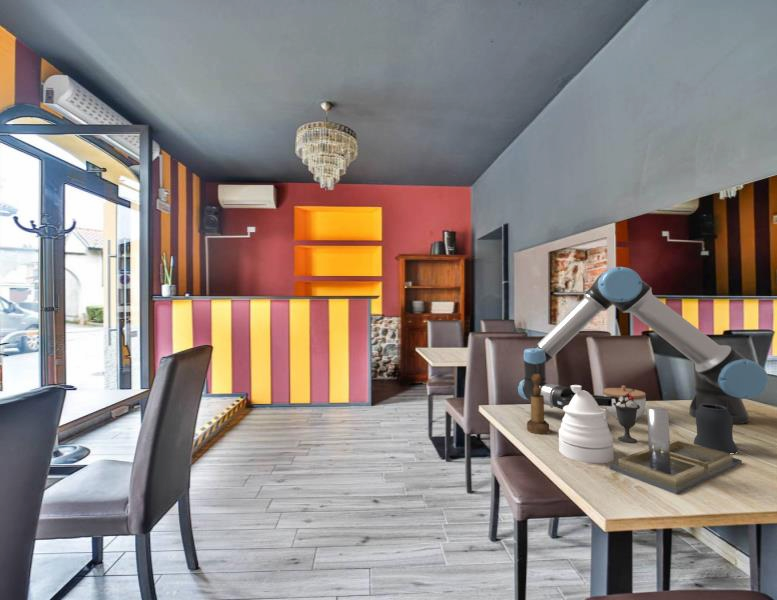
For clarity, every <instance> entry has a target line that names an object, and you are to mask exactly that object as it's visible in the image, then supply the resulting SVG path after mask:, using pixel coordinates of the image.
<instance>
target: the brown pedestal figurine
mask: <svg viewBox="0 0 777 600" xmlns="http://www.w3.org/2000/svg"><path fill="white" fill-rule="evenodd" d="M531 379H532V381H533V383H534V388H533V391H534V394H532V395H531V401H530V419H529V420H528V421H527V422H526V430H527V432H529V431H530V432H529V433H531V434H536V433H538V434H540V435H543V434H542V433H546V434H549V433H550V424H549V423H548V422H547V421H546V420H545V404H544V396H543V395H540V390H541V388H539V384H540V382H541V379H542V378H541V376H540V375H539V374H533V375H532V377H531ZM548 432H549V433H548ZM538 434H537V435H538Z"/></svg>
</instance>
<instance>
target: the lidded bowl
mask: <svg viewBox="0 0 777 600" xmlns="http://www.w3.org/2000/svg"><path fill="white" fill-rule="evenodd" d="M632 389H634V388H629V387H628V388H627V387H626V385H621V387H607V388H604V389H603V390H602V394H603V396H608V397H612V396H614V397H615V396H616V397H618V398H619V397H621V396H623V395H625V394H628V393H629V392H630V391H631V390H632ZM634 390H635V391H633V390H632V391H633V392H632V391H631V392H632V393H631V392H630V393H629V394H631V395H630V396H632V397H633V398H634V399H633V400H634V401H635V402H636V404H638V405H639V406H640V408H639V409H637V413H636V419H637V420H638V419H639V418H640V417H641V416H643V414H644V412H645V410H646V404H647V403H646V402H647V401H646V400H647V399H646V397H647V394H646V392H645V391H642V390H639V389H634ZM605 408H606V410H607V411H608V413H609V414H610V415H611V416H612V418H613V419H616V418H617V419H616V420H618V417H617V411H616V408H612V406H605Z"/></svg>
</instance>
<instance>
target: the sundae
mask: <svg viewBox="0 0 777 600" xmlns="http://www.w3.org/2000/svg"><path fill="white" fill-rule="evenodd" d="M631 389H632V390H633V391H635V390H636V389H635V390H634V388H631ZM632 390H631V391H632ZM631 391H630V392H631ZM633 391H632V392H633ZM630 392H629V393H630ZM632 392H631V393H632ZM629 393H628V394H625V395H623V396H621V397H619V398H618V397H616V396H615V397H614V398H615V401H616V403H613V405H615V407H616V411H617V417H618V419H617V420H618V423H619V425H620V426H621V427H623V429H624V434H623V435H622V436H618V437H617V440H618V441H620V442H622V441H623V442H622V443H627V442H628V444H636V443H638V442H639V441H638V440H637V439H636V438H634V437H632V436H631V433H630V429H631V428H633V427H635V425H636V421H637V420H636V413H637V409H639V408H640V406H639V405H638V404H636V402H635V401H634V400H633V399H634V398H633V397H632V396H630V395H631V394H629Z"/></svg>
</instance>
